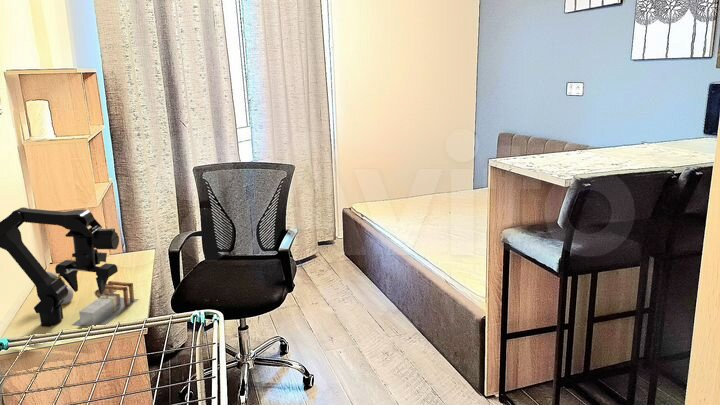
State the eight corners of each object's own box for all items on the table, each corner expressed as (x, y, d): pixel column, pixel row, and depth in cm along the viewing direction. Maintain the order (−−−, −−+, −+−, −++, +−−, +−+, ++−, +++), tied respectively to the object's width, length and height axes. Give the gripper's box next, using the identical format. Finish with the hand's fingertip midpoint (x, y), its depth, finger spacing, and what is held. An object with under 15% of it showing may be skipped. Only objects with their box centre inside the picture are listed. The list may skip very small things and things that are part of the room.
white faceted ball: (70, 307, 184) (66, 277, 181) (40, 309, 182) (36, 278, 179) (77, 298, 191) (73, 269, 188) (49, 299, 190) (45, 270, 186)
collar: (127, 306, 185) (125, 288, 183) (103, 304, 186) (102, 285, 184) (128, 305, 186) (127, 287, 184) (105, 302, 187) (103, 284, 185)
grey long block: (94, 326, 170) (93, 312, 169) (80, 325, 171) (78, 310, 169) (121, 306, 185) (120, 293, 183) (107, 305, 185) (106, 292, 184)
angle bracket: (132, 302, 188) (131, 284, 186) (109, 299, 189) (108, 282, 188) (134, 301, 189) (132, 283, 187) (111, 298, 190) (109, 280, 189)
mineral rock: (94, 284, 199) (115, 277, 201) (99, 293, 201) (119, 287, 202) (88, 297, 189) (110, 290, 191) (93, 307, 191) (115, 300, 192)
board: (101, 330, 170) (101, 328, 169) (71, 327, 171) (71, 325, 171) (139, 301, 191) (139, 299, 191) (112, 298, 192) (112, 296, 192)
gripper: (125, 242, 173) (128, 285, 177) (74, 238, 175) (79, 280, 179) (105, 254, 162) (109, 299, 166) (51, 249, 164) (57, 294, 168)
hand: (89, 292), depth 170 cm, fingers open, 9 cm apart
